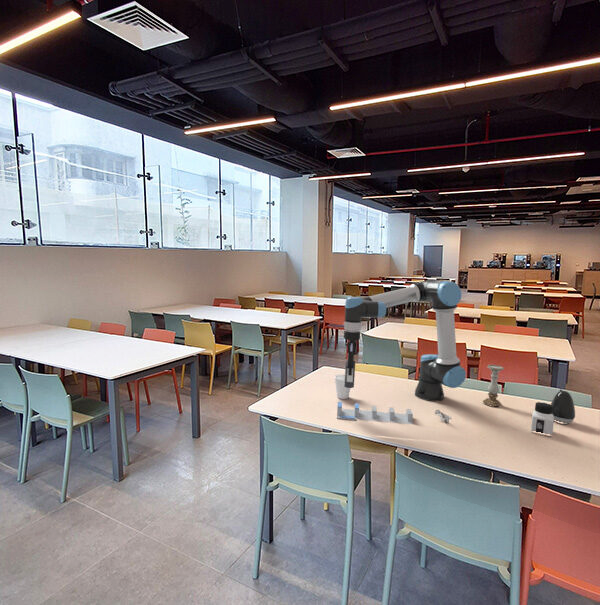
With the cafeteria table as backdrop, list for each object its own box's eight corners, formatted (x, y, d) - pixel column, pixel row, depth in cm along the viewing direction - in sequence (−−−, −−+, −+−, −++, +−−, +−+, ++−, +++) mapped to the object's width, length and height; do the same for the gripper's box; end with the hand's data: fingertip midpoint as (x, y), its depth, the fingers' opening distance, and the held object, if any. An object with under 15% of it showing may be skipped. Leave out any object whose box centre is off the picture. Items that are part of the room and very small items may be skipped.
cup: (353, 401, 197) (354, 380, 196) (334, 400, 198) (335, 379, 196) (351, 394, 207) (352, 374, 206) (332, 393, 207) (333, 374, 206)
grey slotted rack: (409, 415, 181) (410, 405, 181) (413, 425, 170) (413, 414, 170) (337, 409, 185) (338, 399, 185) (336, 418, 175) (337, 408, 174)
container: (551, 437, 163) (555, 408, 162) (530, 432, 167) (534, 404, 166) (551, 431, 170) (554, 403, 168) (531, 426, 174) (534, 399, 172)
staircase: (434, 421, 176) (435, 410, 176) (440, 420, 178) (441, 409, 177) (444, 427, 170) (445, 415, 170) (451, 426, 172) (452, 414, 171)
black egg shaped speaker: (569, 419, 183) (573, 389, 182) (577, 428, 174) (581, 396, 172) (545, 416, 187) (548, 386, 185) (551, 424, 177) (555, 392, 175)
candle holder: (497, 408, 194) (501, 370, 192) (479, 403, 201) (483, 366, 198) (504, 404, 200) (507, 367, 198) (487, 399, 206) (490, 363, 204)
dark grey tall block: (353, 385, 180) (355, 360, 178) (353, 388, 175) (355, 362, 174) (344, 384, 180) (345, 359, 179) (344, 387, 176) (345, 362, 175)
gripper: (344, 327, 184) (341, 374, 187) (343, 333, 167) (340, 385, 169) (360, 328, 183) (357, 375, 186) (360, 334, 166) (358, 386, 168)
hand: (349, 379), depth 178 cm, fingers closed on dark grey tall block, 4 cm apart
